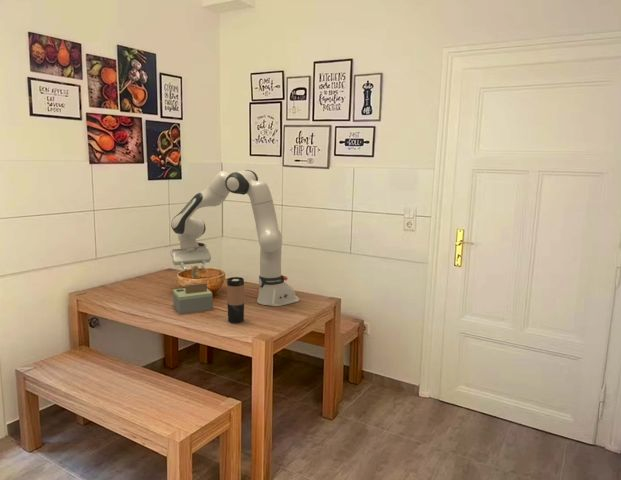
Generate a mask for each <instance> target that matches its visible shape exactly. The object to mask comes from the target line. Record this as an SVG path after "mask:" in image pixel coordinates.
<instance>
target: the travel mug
mask: <svg viewBox="0 0 621 480" xmlns="http://www.w3.org/2000/svg"><path fill="white" fill-rule="evenodd" d="M244 282H245V279H244V278H243V277H239V276H233V277H229V278H227V279H226V285H227V287H226V288H227V291H226V292H227V296H226V297H227V299H226V301H227V304H226V305H227V319H228V320H227V321H228V322H229V323H230V324H241V323H243V322H244V320H245V285H244V284H245V283H244Z"/></svg>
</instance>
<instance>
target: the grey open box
mask: <svg viewBox="0 0 621 480" xmlns="http://www.w3.org/2000/svg"><path fill="white" fill-rule="evenodd" d="M213 301H214V299H213V295H212V296H209V297H201V298H193V299H186V300H179V299H178V298H177V297H176V296H175V295H174V293H173V292H172V303H173V304H172V306H173V308H174V309H175V311H176V312H177V313H178V314H179V315H186V314H193V313H200V312H207V311H209V312H210V311H213V310H214V309H213V308H214V306H213V305H214V304H213Z"/></svg>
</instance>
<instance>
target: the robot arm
mask: <svg viewBox="0 0 621 480" xmlns="http://www.w3.org/2000/svg"><path fill="white" fill-rule="evenodd" d="M230 193H232V194H237V195H243V196H244V195H247V196H248V197H249V199H250V205H251V208H252V209H251V210H252V213H253V217H254V222H255V230H256V233H257V234H256V235H257V240H258V244H259V247H260V251H259V252H260V253H259V254H260V255H259V275H258V286H259V287H258V288H259V289H258V295H257V296H258V297H257V299H256V303H258V304H260V305H263V306H272V307H280V306H281V307H282V306H286V305H289V304H290V305H291V304H295V303H299V302H300V297H298V296H297V295H296V292H295V289H294V287H293V286H291V285H289V284H288V282H287V281H288V279H289V278H288V276H285V275H283V274H282V238H283V237H282V233H281V231H280V230H279V224H278V218H277V214H276V209H275V205H274V201H273V196H272V193H271V190H270V188H269V186H268V183H267V182H266V181H264V180H259V177H258V174H257V173H256V172H255V171H253V170H250V169H245V170H244V169H243V170H237V171H234V172H231V173H230V172H228V171H226V170H221V171H219V172H218V173H216V175H215V176H214V177H213V178H212V179H211V181H210V182H209V184H208V185H207V187H206V188H205V189H203V190H202V191H201V192H198V193H196V194H195V195H194V196H192V197H191V199H190V200H189V201H188V203H187V204H186V205H185V206H184V207H183V208H182V210H180V212H178V213H177V214H176V215H175V216H174V217H173V218H172V220H171V223H170V227H171V229H172V232H174V233H175V234H177V238H178V241H179V246H180V247H179V248H177V249H175V248H174V249H172V250H170V252H169V253H170V256H171V257H172V258H171V259H172V260H171V261H172V264H173V266H179V267H181V268H182V269H183V272H187V271H188V267H187V266H185V265H194V264H201V265H200V269H201V270H205V269H206V266H205V265H206V263H210V262H211V260H212V256H211V252H210V250H209V248H208V247H207V244H206V243H203V242H198V241H197V239H199V238H201V236H203V235H205V233H206V229H207V228H206V223H205V221H204V220H203V219H200V218H195V217H192V216H193V215H194V214H195V212H196V211H197V210H199V209H201V208H208V207H209V208H210V207H217V206H220V205H222V204H223V202H225V200H226V199H227V198H228V196H229V194H230ZM285 281H286V282H285Z"/></svg>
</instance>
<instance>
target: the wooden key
mask: <svg viewBox="0 0 621 480" xmlns="http://www.w3.org/2000/svg"><path fill="white" fill-rule="evenodd" d="M190 270H191V273H190V274H191V280H192V279H200V278H199V277H200V276H199V266H198V265H192V266H191V268H190Z"/></svg>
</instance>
